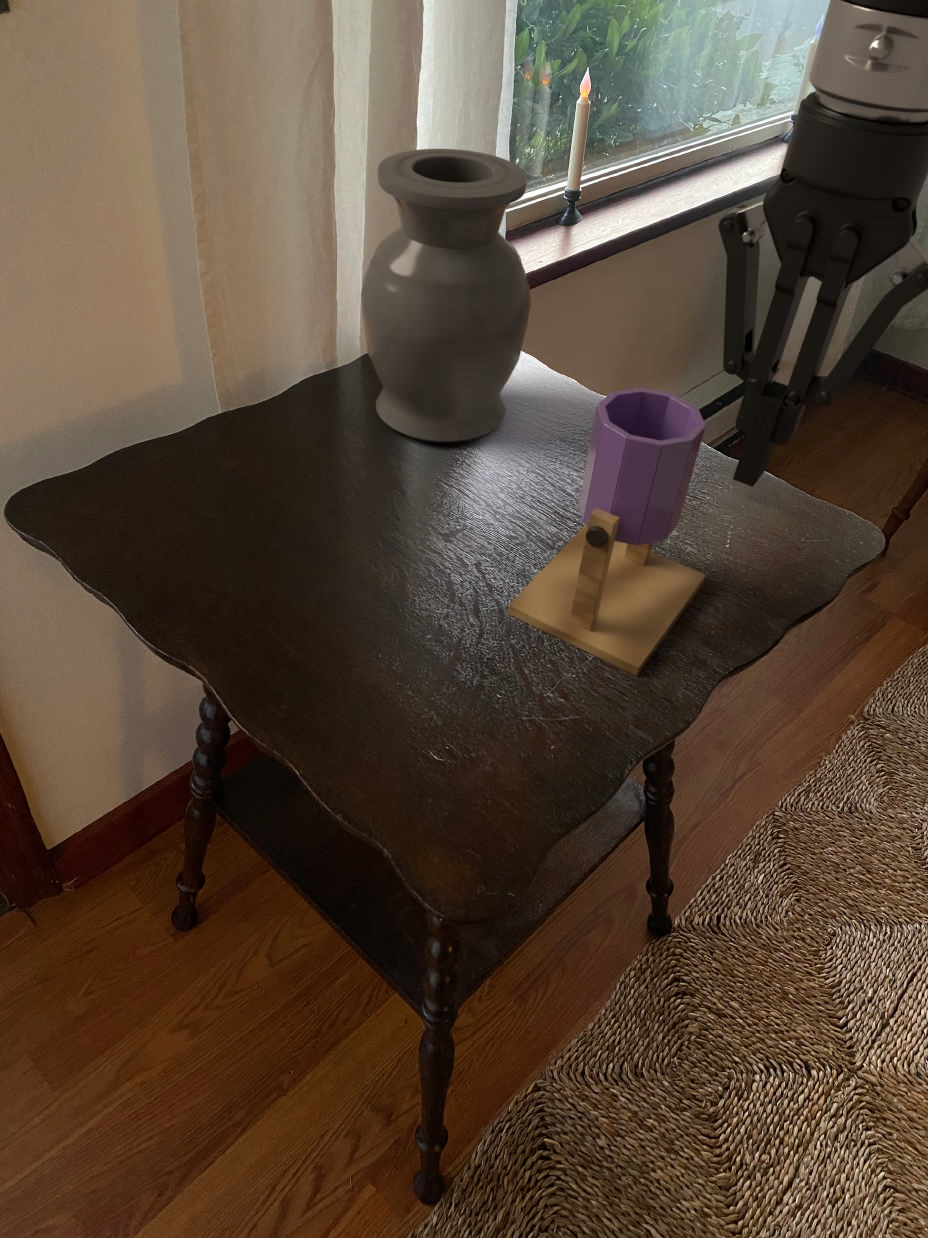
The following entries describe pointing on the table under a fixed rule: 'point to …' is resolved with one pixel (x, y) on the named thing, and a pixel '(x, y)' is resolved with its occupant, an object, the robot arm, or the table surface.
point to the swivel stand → (608, 595)
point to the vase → (446, 295)
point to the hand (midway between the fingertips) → (749, 474)
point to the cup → (641, 462)
